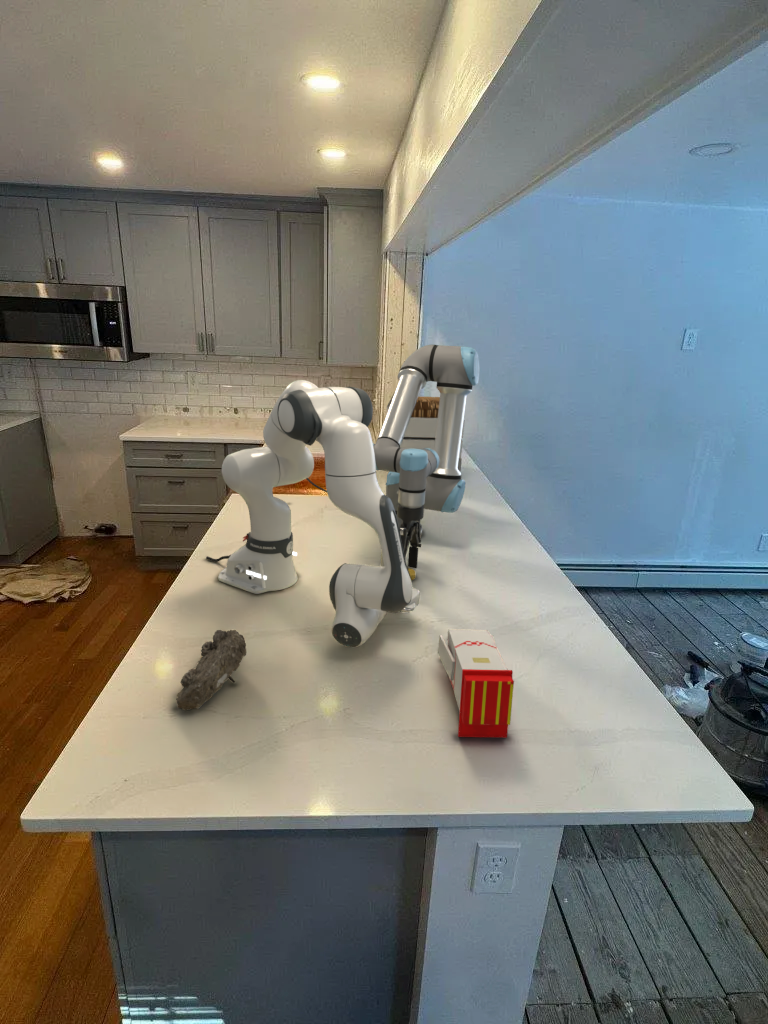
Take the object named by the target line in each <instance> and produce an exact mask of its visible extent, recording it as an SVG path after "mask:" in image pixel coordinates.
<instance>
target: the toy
mask: <svg viewBox="0 0 768 1024" xmlns="http://www.w3.org/2000/svg"><path fill="white" fill-rule="evenodd" d="M446 640H447V643H446V641H445V639H444V636H443V635H442V634H439V637H438V646H437V656H438V657H439V659H440V661H441V663H442V666H443V668H444V670H445V672H446V674H447V677H448V679H449V681H450V684H451V687H452V690H453V693H454V697H455V701H456V705H457V708H458V711H459V714H458V715H459V716H458V730H457V731H458V732H457V737H458V738H508V731H509V726H510V725H511V717H512V707H513V697H514V696H513V695H514V684H515V680H514V679H513V673H514V671H513V670H512V669H508V667H507V665H506V662H505V661H504V659H503V658H502V655H501V653H500V651H499V649H498V647H497V643H496V639H495V637H494V635H493V634H491V632H490V631H489V629H467V628H466V629H465V628H463V629H461V628H460V629H459V628H448V630H447V639H446Z"/></svg>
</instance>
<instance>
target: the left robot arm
mask: <svg viewBox="0 0 768 1024" xmlns="http://www.w3.org/2000/svg"><path fill="white" fill-rule="evenodd" d="M373 415H374V408H373V404H372V400H371V398H370V395H369V394H368V392H366V391H365V390H364V389H362V388H359V387H355V386H344V387H342V386H323V387H318V386H317V384H314V383H313V382H311V381H309V380H305V379H297V380H294V381H292V382H290V383H289V384H288V385H287V386H286V387H285V389H284V390H283V391H282V392H281V394H280V395H279V397H278V398H277V400H276V402H275V404H274V406H273V407H272V410H271V411H270V413H269V416H268V418H267V421H266V422H265V425H264V426H263V431H262V438H263V441H264V443H265V445H266V446H260V447H252V448H245V449H241V450H238V451H235V452H232V453H230V454H228V455H226V456H225V458H224V459H223V461H222V465H221V477H222V480H223V481H224V484H225V485H226V486H227V487H228V488H229V489H230V490H232V491H233V492H235V493H237V494H238V495H239V496H240V497H241V498H242V499H243V501H244V502H245V504H246V506H247V509H248V515H249V524H250V531H249V532H248V533H246V535H245V536H243V537H242V542H245V541H246V543H245V544H244V545H243V546H240V547H239V548H238V549H236V550H235V551H233V552H232V553H231V554H229V555H224V556H220V557H219V558H213V557H210V556H206V557H205V559H206V560H208V561H211V562H214V563H217V562H218V563H219V562H221V561H222V560H225V559H227V561H226V566H225V567H224V568H223V569H222V570H220V572H219V573H218V577H217V578H218V579H217V580H218V581H219V582H222V583H224V584H227V585H230V586H232V587H235V588H238V589H241V590H244V591H246V592H248V593H252V594H255V595H258V594H263V593H267V592H274V591H275V592H276V591H281V590H286V589H288V588H290V587H292V586H294V585H295V584H296V583H297V582H298V579H299V578H298V574H297V571H296V568H295V563H294V557H297V556H298V552H296V551H294V533H293V531H292V510H291V507H290V506H289V503H287V502H286V501H285V500H283V499H281V498H278V497H277V496H276V497H275V496H274V493H273V489H274V488H276V487H282V486H289V485H294V484H297V483H299V482H301V481H304V480H307V479H306V478H308V479H309V478H310V477H311V476H312V474H313V472H314V468H315V459H314V456H313V453H312V452H311V450H310V448H308V446H309V447H310V446H313V444H314V443H315V442H318V443H319V444H320V445H321V447H322V449H323V453H324V477H325V488H326V489H325V490H327V492H326V494H327V495H328V499H329V500H330V502H331V503H332V505H334V506H335V507H336V508H337V509H338V510H340V511H341V512H342V513H345V514H346V515H349V516H352V517H354V518H355V519H358V520H360V521H362V522H364V523H365V524H367V525H368V526H370V527H371V528H372V529H373V530H374V532H375V533H376V535H377V538H378V541H379V546H380V553H381V552H382V557H383V562H384V567H382V566H380V565H370V564H369V565H368V564H363V563H350V562H349V563H347V562H344V563H342V564H341V565H340V566H339V567H337V569H336V570H335V571H334V572H333V575H332V576H331V578H330V580H329V584H328V592H329V593H328V594H329V599H330V603H331V604H332V607H333V609H334V610H335V614H334V619H333V622H332V625H331V634H332V637H333V639H334V640H335V641H336V642H337V643H338V644H340V645H341V646H344V647H347V648H357V647H360V646H362V645H363V644H364V643H366V642H367V641H368V640H369V639H370V638H371V636H372V635H373V634H374V632H375V631H376V630H377V627H378V625H379V624H380V623H381V622H382V621H383V620H384V618H385V616H386V615H387V613H392V614H397V613H399V612H400V613H410V612H413V611H415V609H416V608H417V606H418V605H419V603H420V598H421V592H420V589H418V588H415V587H413V582H412V581H413V580H411V577H410V574H409V571H408V568H409V567H408V564H407V561H406V558H405V556H404V551H403V546H402V541H401V536H400V531H399V526H398V521H397V517H396V513H395V509H394V506H393V503H392V501H391V499H390V498H389V497H387V496H386V494H385V493H384V492H383V490H382V488H381V486H380V484H379V480H378V477H377V470H376V462H375V453H374V447H373V444H374V442H373V438H372V433H371V431H370V429H369V426H370V424H371V423H372V420H373ZM293 556H294V557H293Z"/></svg>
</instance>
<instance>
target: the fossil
mask: <svg viewBox="0 0 768 1024" xmlns="http://www.w3.org/2000/svg"><path fill="white" fill-rule="evenodd" d="M200 655H201V657H200V658H199V660H198V662H197V664H196V666H195V668H191V669H189V670H188V671H187V672H185V673H184V675H183V676H182V677H181V678H180V681H179V682H180V684H181V686H182V689H181V690H180V692H178V693H177V694H176V696H177V698H175V700H176V706H177V708H178V709H181V710H183V711H189V710H195V709H200V708H201V707H202V706H203V705H204V704H205V703H206V702H207V701H208V700H210V699H211V698H212V697H213V696H214V695H215V694H216V693H217V692H218V691H219V690H221V689H222V687H223V685H224V683H225V682H226V681H228V680H230V681H231V683H232V684H235V683H236V680H235V679H234V678H233V677H232V676H231V675H232V673H233V672H235V671H237V670H238V668H239V666H240V665H241V662H242V661H243V659H244V657H245V656H247V642H246V639H245V637H244V635H242V634H240V633H239V631H238V630H237V629H230V630H222V629H217V630H216V631H214V634H213V635H212V641H211V640H208V641H206V642H204V643H203V644H202V646H201V649H200Z"/></svg>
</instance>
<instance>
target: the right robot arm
mask: <svg viewBox="0 0 768 1024" xmlns="http://www.w3.org/2000/svg"><path fill="white" fill-rule="evenodd" d="M480 371H481V369H480V357H479V353H478V351H477V350H476V349H475V348H474V347H470V346H463V345H444V344H443V345H441V344H426V345H423V346H421V347H419V348H418V349H416V350H415V351H413V352H412V353H411V354H410V355H408V357H407V358H406V359H405V360H404V361H403V363H402V365H401V367H400V368H399V371H398V373H397V380H398V382H397V385H396V388H395V390H394V392H395V393H394V392H393V394H394V396H393V395H392V396H393V398H392V397H391V398H392V401H391V404H390V406H389V409H388V412H387V411H386V412H387V414H386V413H385V414H386V415H385V418H384V420H383V422H382V425H381V427H380V430H379V433H378V435H377V438H376V441H375V443H373V447H374V453H375V462H376V471H383V472H388V473H387V475H386V482H385V496H387V497H389V498H390V499H391V501H392V503H393V506H394V509H395V513H396V517H397V521H398V526H399V531H400V536H401V541H402V546H403V551H404V556H405V559H406V557H407V556H408V557H407V558H408V559H407V568H410V569H415V570H416V569H417V568H418V561H419V559H418V558H419V548H422V545H423V544H422V543H421V542H422V535H423V525H422V524H421V520H422V519H423V518H424V513H425V510H430V511H435V512H441V513H449V514H453V513H456V512H457V511H458V509H459V508H460V506H461V503H462V502H463V501H462V500H463V497H464V494H465V490H466V480H465V479H462V473H460V471H459V470H458V461H459V453H460V445H461V440H462V438H461V437H462V429H463V421H464V420H465V411H466V404H467V396H468V395H469V394H470V393H471V392H473V386H474V387H475V386H477V385H478V384H479V382H480V381H479V380H480ZM427 382H434V383H436V386H435V387H436V389H437V391H438V392H439V393H440V394H439V397H440V401H439V410H438V418H437V427H436V436H435V444H434V450H432V449H429V448H425V449H407V448H400V446H401V443H402V441H403V438H404V435H405V432H406V429H407V427H408V424H409V421H410V418H411V415H412V413H413V410H414V407H415V404H416V401H417V399H418V397H420V396H419V395H420V393H421V390H422V389H424V388H425V387H426V385H427ZM464 422H465V421H464ZM305 480H306V481H307V482H308V483H309V484H311V485H312V486H313V487H315V488H317V489H318V490H320V491H322V492H325V493H327V489H324V488H323V487H320V486H319V485H317V484H316V483H314V482H313V481H311V479H309V477H308V478H306V479H305ZM409 545H410V546H409ZM407 554H408V555H407Z"/></svg>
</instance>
